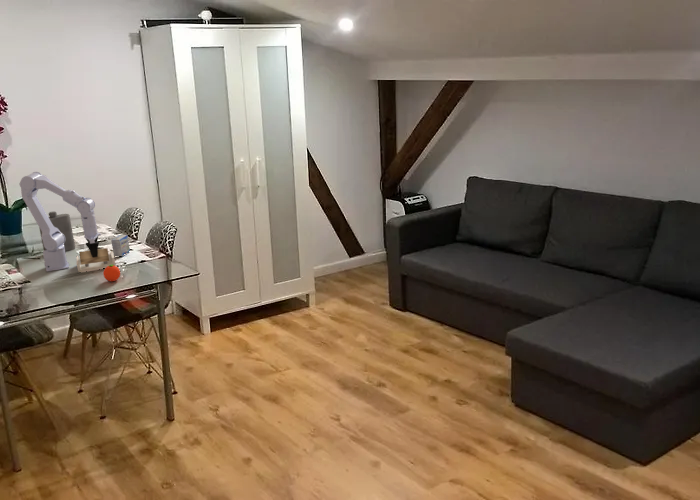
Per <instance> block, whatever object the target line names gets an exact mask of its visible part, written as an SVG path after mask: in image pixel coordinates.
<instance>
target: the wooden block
mask: <svg viewBox="0 0 700 500" xmlns="http://www.w3.org/2000/svg"><path fill="white" fill-rule="evenodd" d="M78 254H79V259H80V261H81V265H83V264H90V263H97V262H104V261H109V256H108V254H109V250H108V248H107V247H106V248H98V257H94V258H93V257H92V255H91V252H90V250H84V251H79V252H78Z"/></svg>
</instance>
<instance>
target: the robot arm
mask: <svg viewBox="0 0 700 500" xmlns="http://www.w3.org/2000/svg"><path fill="white" fill-rule="evenodd" d="M19 187H20V190H21V191H20V192H21V198H22V200H23V201H24V203H25V204H26V207H27V208H28V210H29V211H30V213H31V215H32V217H33V219H34V221H35V222H36V223H37V225H38V228H39V227H40V229H41V231H42V237H41V236H40V238H42V239H41V241H42V240H43V244H42V246H43V245H44V247H45V248H46V249H47V250H44V249H43V250H42V254H43V263H44V267H45V270H46V272H51V271H58V270H63V269H64V270H65V269H69V264H70V263H69V262H68V259H67V255H66V251H65V248H64V243H65V240H66V238H65V236H64V234H62V233H61V232H60V231H59V229H58V228H56V227H54V226H53V224H52V222H51V221H50V219H49V217H50V216H49V214H47V212H46V210H45V208H44V206H43V205H42V203H41V201H40V200H39V198H38V196H37V194H38V191H39V190H43V189H46V190H48V191H49V192H51V193H53V194H56V195H58V196H60V197H61V198H62V200H63V202H65V203H67V204H69V205H70V206H72V207H74V208H76V210H77V211H78V213H80V218H81V224H82V228H83V229H82V230H83V234H84V235H83V237H84V238H85V240H86V241H87V242H85V245H86V247H87V248H88V251H90V252H91V255H92V257H93V258H94V257H98V249H99V245H100V241H98V240H99V237H100V236H102V233H100V232H98V227H97V221H96V216H95V207H96V203H95V201H94V199H92V198H91V197H85V196H84V195H82V194H81V195H80V194H79V193H77V192H76V190H74V189H68V190H67V189H65V188H64V187H62V186H60V185H59V184H57V183H55V182H54V181H52V180H51V179H50V178H48V176H47V175H45V174H42V173H41V172H40V171H33V172H31V173H30V174H27V175H24V176H23V177H22V178H21V179H20V182H19ZM40 229H39V230H40Z"/></svg>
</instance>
